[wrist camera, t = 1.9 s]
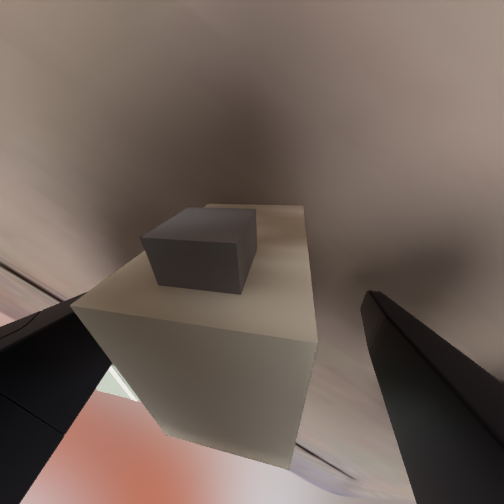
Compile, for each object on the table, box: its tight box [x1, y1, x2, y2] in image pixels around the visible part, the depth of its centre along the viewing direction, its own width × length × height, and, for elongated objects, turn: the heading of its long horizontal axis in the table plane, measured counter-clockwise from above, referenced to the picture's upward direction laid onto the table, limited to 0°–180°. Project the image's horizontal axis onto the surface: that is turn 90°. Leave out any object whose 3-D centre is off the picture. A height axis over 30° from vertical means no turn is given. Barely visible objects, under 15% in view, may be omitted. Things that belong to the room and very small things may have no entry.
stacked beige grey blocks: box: [70, 204, 318, 470], centre depth 7 cm, size 4×8×6 cm, turn 2°
